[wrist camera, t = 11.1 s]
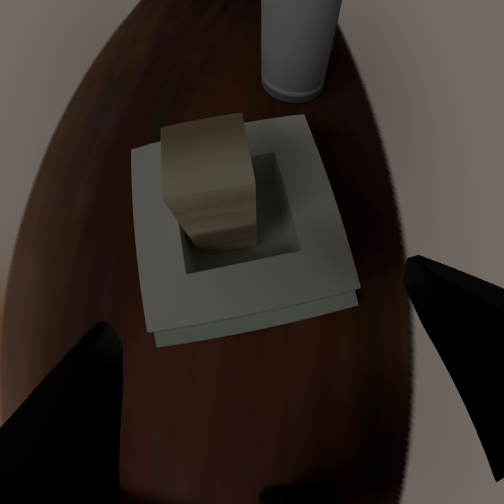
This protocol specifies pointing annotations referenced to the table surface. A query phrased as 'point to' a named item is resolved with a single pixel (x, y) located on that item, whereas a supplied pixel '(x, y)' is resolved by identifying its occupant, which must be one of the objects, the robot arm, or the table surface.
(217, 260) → the socket block
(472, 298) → the robot arm
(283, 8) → the travel mug
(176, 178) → the birch peg
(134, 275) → the table surface
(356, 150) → the table surface
